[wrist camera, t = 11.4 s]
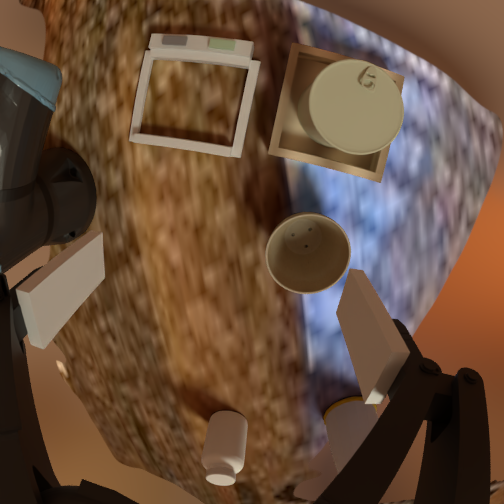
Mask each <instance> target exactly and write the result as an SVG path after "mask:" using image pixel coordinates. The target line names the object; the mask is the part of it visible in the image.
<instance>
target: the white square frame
mask: <svg viewBox="0 0 504 504" xmlns="http://www.w3.org/2000/svg"><path fill="white" fill-rule="evenodd" d="M148 48H150V51H147V50H146V52H145V56H144V60H143V65H142V69H141V74H140V79H139V84H138V89H137V94H136V100H135V105H134V111H133V117H132V124H131V130H130V137H129V141H133V142H134V143H142V144H150V145H158V146H165V147H172V148H179V149H185V150H192V151H198V152H204V153H210V154H215V155H221V156H227V157H230V156H232V157H237V158H241V153H242V148H243V143H244V138H245V134H246V129H247V124H248V119H249V114H250V109H251V105H252V100H253V95H254V91H255V86H256V81H257V77H258V72H259V68H260V63H261V62H260V61H255V60H252V55H253V51H254V43H253V42H251V41H244V40H237V39H229V38H220V37H210V36H198V35H181V34H152V35H151V39H150V43H149V47H148ZM153 60H172V61H186V62H197V63H207V64H216V65H224V66H231V67H238V68H244V69H249V71H248V75H247V80H246V85H245V89H244V94H243V99H242V103H241V108H240V113H239V118H238V123H237V128H236V133H235V138H234V143H233V147H231V146H226V145H220V144H214V143H208V142H202V141H196V140H189V139H182V138H175V137H168V136H160V135H152V134H144V133H140V128H141V122H142V116H143V110H144V104H145V99H146V93H147V88H148V83H149V78H150V73H151V69H152V64H153Z"/></svg>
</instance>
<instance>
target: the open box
mask: <svg viewBox="0 0 504 504" xmlns="http://www.w3.org/2000/svg"><path fill="white" fill-rule="evenodd" d="M344 59H354V58H351V57H347V56H344V55H341V54H337V53H334V52H330V51H326V50H323V49H319V48H315V47H311V46H307V45H302V44H298V43H293V42H292V45H291V50H290V54H289V59H288V63H287V68H286V73H285V77H284V82H283V86H282V91H281V96H280V100H279V105H278V109H277V114H276V119H275V123H274V128H273V133H272V137H271V142H270V147H269V151H268V154H270V155H275V156H279V157H284V158H288V159H293V160H297V161H301V162H305V163H310V164H314V165H318V166H322V167H326V168H329V169H333V170H337V171H341V172H344V173H348V174H352V175H355V176H359V177H362V178H366V179H369V180H373V181H376V182H379V183H381V180H382V176H383V172H384V168H385V164H386V161H387V157H388V153H389V148H390V144H391V143H390V144H389V145H388V146H386V147H385V148H384V149H382V150H380V151H378V152H375V153H371V154H366V155H356V154H350V153H346V152H343V151H341V150H339V149H337V148H329V147H325V146H322V145H320V144H318V143H316V142H315V141H313V140H312V139H311V138H310V137H309V136H308V135H307V134H306V133H305V131H304V130H303V128H302V126H301V124H300V122H299V118H298V102H299V99H300V96H301V94H302V93H303V91H304V90H305V89H306V87H307V86H309V85H310V84H311V83H312V82H313V81H314V79H315V77H316V76H317V75H318V74H319V72H320V71H321V70H322V69H324V68H325V67H326V66H328V65H329V64H331V63H334V62H336V61H339V60H344ZM379 68H381V67H379ZM381 69H382V70H384V71H385V72H386V73H387V74H388V75H389V76H390V77H391V78H392V80H393V81H394V82H395V84H396V85H397V87H398V89H399V91H400V94H401V93H402V88H403V82H404V76H402V75H399V74H397V73H394V72H391V71H389V70H386V69H383V68H381Z"/></svg>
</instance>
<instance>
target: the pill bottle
mask: <svg viewBox="0 0 504 504" xmlns="http://www.w3.org/2000/svg"><path fill="white" fill-rule="evenodd" d="M247 427H248V426H247V420H246V419H245V417H244V416H242V415H241V414H239V413H237V412H233V411H218V412H216V413H214V414H213V415H212V416H211V417H210V420H209V424H208V429H207V434H206V439H205V443H204V448H203V453H202V458H201V460H202V464H203V466H204V467H205V468H206V469H207V472H206V479H207V481H209V482H210V483H213V484H216V485H223V486H226V485H231V484H233V483H234V482H235V480H236V473H238V472H239V471H241V470H242V468H243V466H244V458H245V448H246V437H247Z"/></svg>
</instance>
